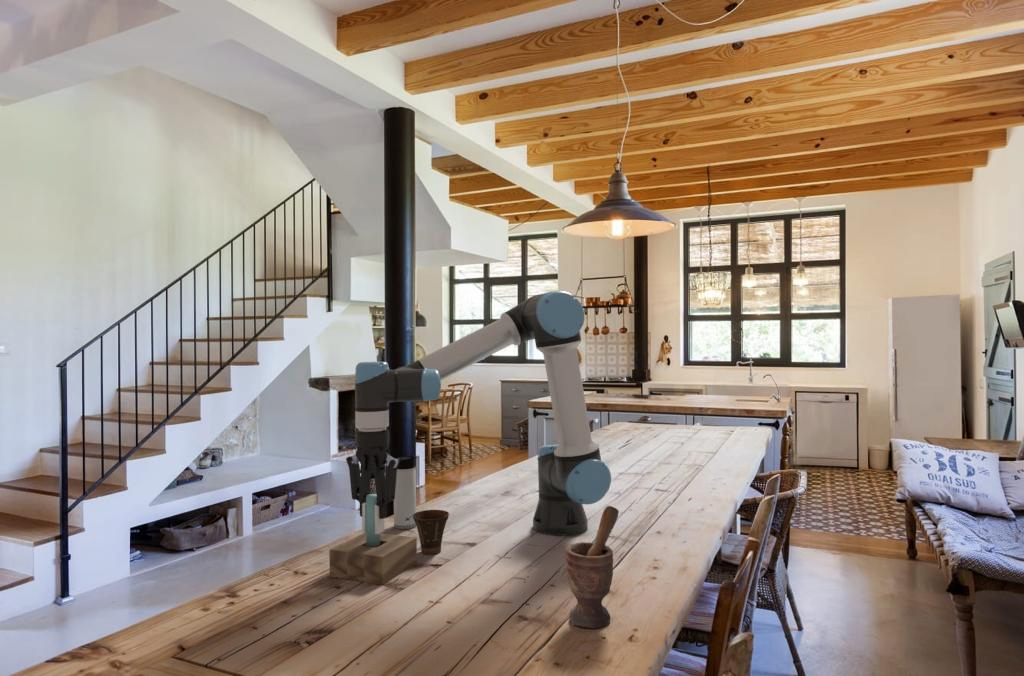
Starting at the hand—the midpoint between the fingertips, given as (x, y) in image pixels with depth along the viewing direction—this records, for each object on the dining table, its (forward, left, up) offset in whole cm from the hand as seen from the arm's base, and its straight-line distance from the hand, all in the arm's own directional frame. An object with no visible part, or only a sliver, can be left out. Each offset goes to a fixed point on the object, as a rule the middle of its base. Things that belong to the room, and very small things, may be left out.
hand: (373, 531), depth 143 cm
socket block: (0, 0, -9) cm, 9 cm away
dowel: (0, 0, -4) cm, 4 cm away
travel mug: (+11, -32, -9) cm, 35 cm away
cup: (-6, -16, -9) cm, 19 cm away
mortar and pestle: (-53, +6, -9) cm, 55 cm away
